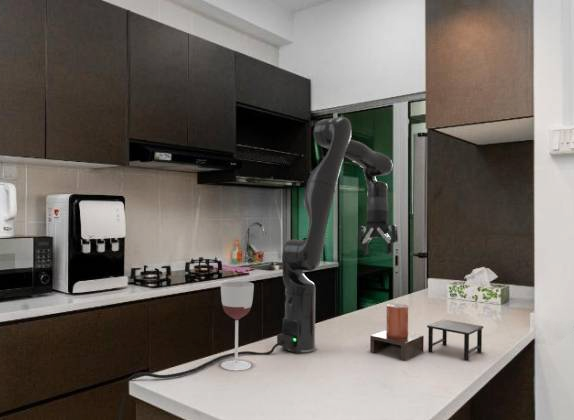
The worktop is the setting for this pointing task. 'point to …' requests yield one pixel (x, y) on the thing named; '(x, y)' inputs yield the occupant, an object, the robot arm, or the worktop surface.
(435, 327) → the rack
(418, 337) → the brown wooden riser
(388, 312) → the cup
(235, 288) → the wineglass
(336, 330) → the worktop surface
